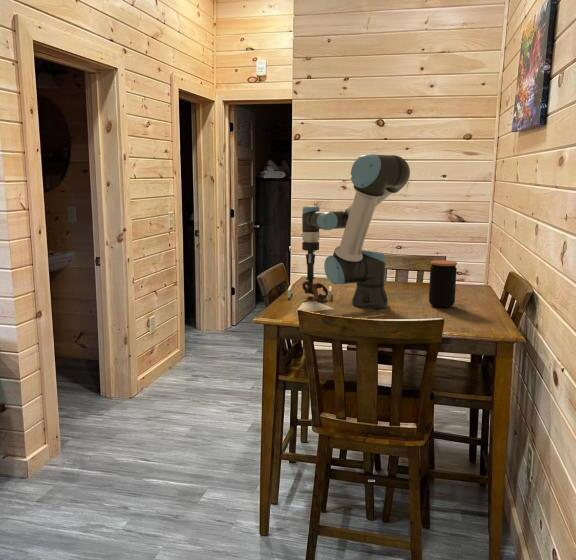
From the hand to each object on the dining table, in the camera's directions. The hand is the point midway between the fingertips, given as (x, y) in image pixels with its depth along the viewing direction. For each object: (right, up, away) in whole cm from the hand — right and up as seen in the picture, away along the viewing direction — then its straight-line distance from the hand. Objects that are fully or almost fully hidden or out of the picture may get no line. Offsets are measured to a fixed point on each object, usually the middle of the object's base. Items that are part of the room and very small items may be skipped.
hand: (310, 293), depth 245 cm
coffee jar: (+55, -4, -14) cm, 57 cm away
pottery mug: (-1, -2, -4) cm, 5 cm away
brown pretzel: (0, -1, -1) cm, 2 cm away
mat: (-2, -5, -20) cm, 21 cm away
